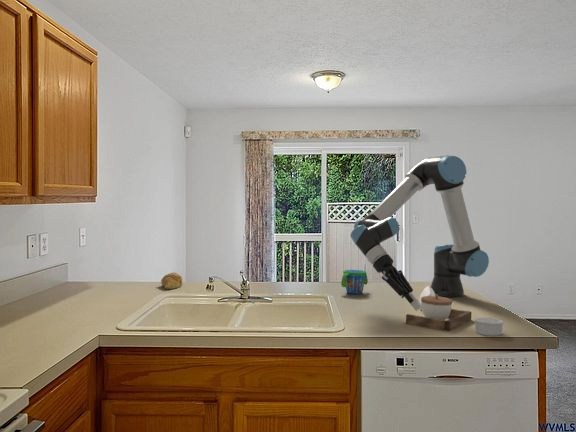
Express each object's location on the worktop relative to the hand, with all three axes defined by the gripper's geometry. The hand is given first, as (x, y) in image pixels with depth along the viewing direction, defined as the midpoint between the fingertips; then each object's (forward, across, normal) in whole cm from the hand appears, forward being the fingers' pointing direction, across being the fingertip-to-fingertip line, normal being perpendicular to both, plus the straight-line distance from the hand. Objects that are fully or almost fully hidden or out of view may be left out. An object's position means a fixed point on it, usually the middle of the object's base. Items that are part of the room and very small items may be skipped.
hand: (419, 308), depth 184 cm
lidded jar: (+7, -1, +2) cm, 7 cm away
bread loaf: (-81, +21, -87) cm, 120 cm away
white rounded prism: (-2, -23, -7) cm, 24 cm away
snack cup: (-29, -27, -34) cm, 52 cm away
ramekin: (+21, +3, +16) cm, 27 cm away
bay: (+7, 0, +2) cm, 8 cm away
